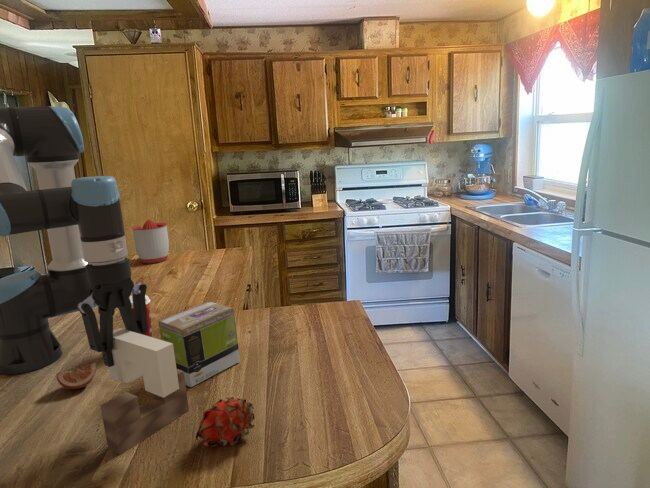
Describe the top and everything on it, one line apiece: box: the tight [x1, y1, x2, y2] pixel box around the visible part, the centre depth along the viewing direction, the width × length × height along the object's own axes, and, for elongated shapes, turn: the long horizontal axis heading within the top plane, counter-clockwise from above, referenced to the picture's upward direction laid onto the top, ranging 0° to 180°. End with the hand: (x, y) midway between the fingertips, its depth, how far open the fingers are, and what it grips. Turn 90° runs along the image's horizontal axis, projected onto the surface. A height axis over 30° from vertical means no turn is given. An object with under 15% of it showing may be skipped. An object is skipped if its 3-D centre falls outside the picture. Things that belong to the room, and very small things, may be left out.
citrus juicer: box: [131, 219, 170, 265], centre depth 222 cm, size 16×17×20 cm
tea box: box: [158, 300, 241, 388], centre depth 113 cm, size 15×10×15 cm
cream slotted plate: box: [113, 327, 179, 398], centre depth 89 cm, size 16×4×9 cm, turn 56°
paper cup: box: [129, 294, 153, 337], centre depth 128 cm, size 8×8×14 cm
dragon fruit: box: [195, 396, 256, 447], centre depth 87 cm, size 8×8×12 cm
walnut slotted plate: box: [99, 369, 190, 456], centre depth 91 cm, size 16×4×9 cm, turn 146°
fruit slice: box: [55, 362, 98, 390], centre depth 109 cm, size 8×7×5 cm
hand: (126, 374), depth 93 cm, fingers closed on cream slotted plate, 3 cm apart
